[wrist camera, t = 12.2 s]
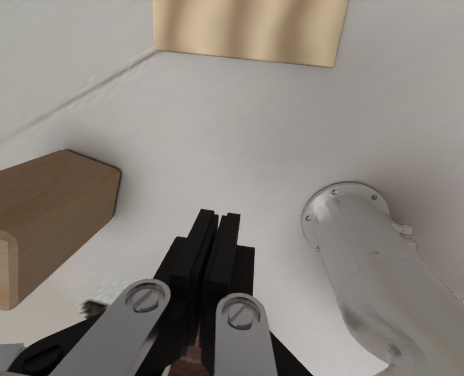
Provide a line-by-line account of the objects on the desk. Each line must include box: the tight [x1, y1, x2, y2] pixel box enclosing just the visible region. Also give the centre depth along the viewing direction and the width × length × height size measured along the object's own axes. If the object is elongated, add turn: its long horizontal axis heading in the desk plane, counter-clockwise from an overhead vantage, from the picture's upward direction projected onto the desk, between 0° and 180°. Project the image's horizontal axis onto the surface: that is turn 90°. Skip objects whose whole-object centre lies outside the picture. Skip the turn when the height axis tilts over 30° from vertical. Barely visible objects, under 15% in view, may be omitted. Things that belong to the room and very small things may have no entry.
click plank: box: [153, 0, 348, 68], centre depth 30 cm, size 22×10×1 cm, turn 85°
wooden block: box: [0, 150, 120, 310], centre depth 33 cm, size 10×10×20 cm
